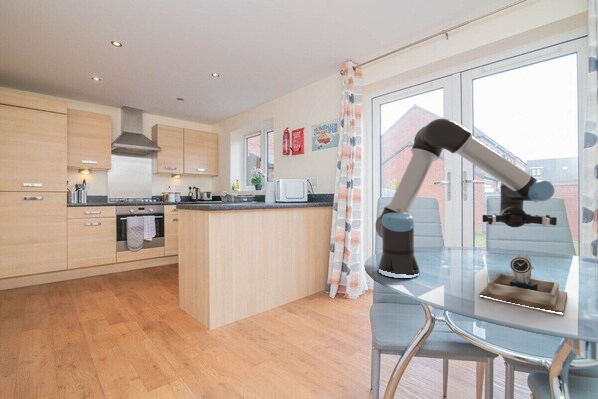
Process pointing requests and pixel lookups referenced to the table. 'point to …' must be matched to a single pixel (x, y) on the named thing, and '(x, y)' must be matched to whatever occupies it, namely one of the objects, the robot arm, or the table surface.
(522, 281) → the watch
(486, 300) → the table surface
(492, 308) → the table surface
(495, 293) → the board
